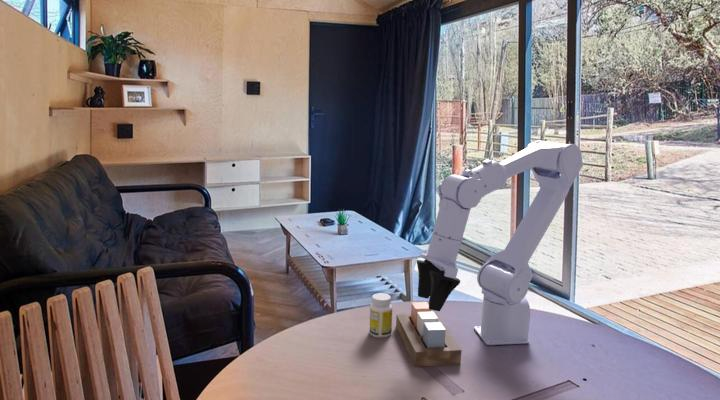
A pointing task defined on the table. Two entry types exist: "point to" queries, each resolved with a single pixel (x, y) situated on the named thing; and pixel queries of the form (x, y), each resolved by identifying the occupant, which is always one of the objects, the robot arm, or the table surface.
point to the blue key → (434, 334)
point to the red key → (418, 310)
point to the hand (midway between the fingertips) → (428, 303)
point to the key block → (420, 350)
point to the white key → (425, 320)
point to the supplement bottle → (381, 315)
